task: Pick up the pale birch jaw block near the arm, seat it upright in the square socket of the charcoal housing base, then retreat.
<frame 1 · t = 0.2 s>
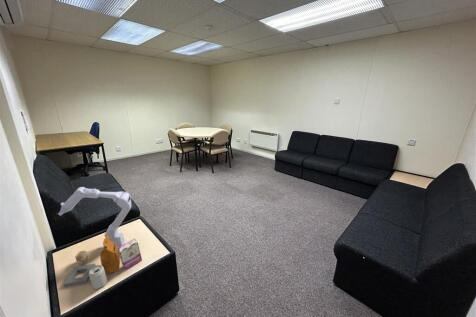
hand: (58, 215, 133), 31 cm above the table, tool tilted 45°, fingers open, 7 cm apart
can: (100, 283, 122), on the table
jaw block: (83, 261, 136), on the table
coffee package: (113, 266, 133), on the table
candy bar box: (132, 263, 135), on the table
housing: (81, 276, 126), on the table
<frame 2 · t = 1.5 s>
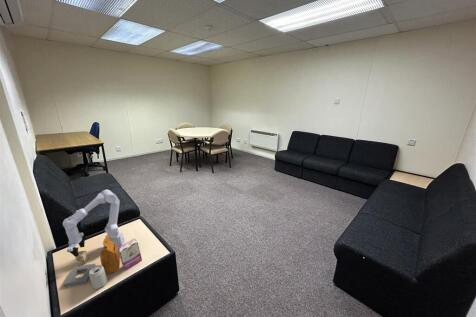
hand: (79, 251, 133), 9 cm above the table, tool pointing down, fingers open, 7 cm apart
nothing on the table moved.
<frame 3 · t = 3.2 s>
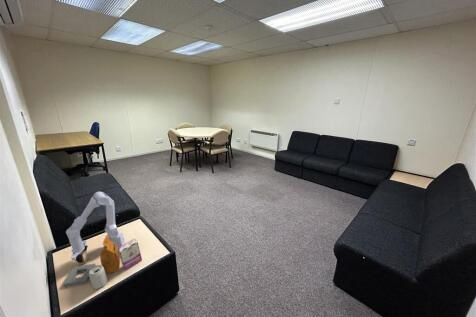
hand: (82, 259, 136), 2 cm above the table, tool pointing down, fingers closed on jaw block, 4 cm apart
jaw block: (83, 261, 136), on the table, touching gripper
everything else where it was.
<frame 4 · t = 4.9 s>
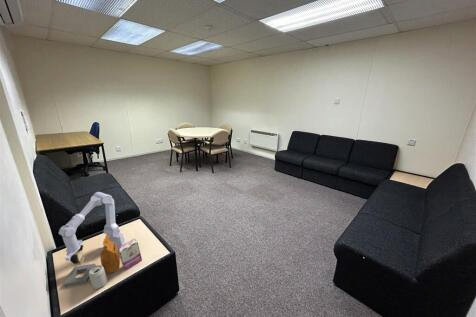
hand: (77, 259, 127), 9 cm above the table, tool pointing down, fingers closed on jaw block, 4 cm apart
jaw block: (78, 262, 128), point 7 cm above the table, touching gripper
everything else where it was.
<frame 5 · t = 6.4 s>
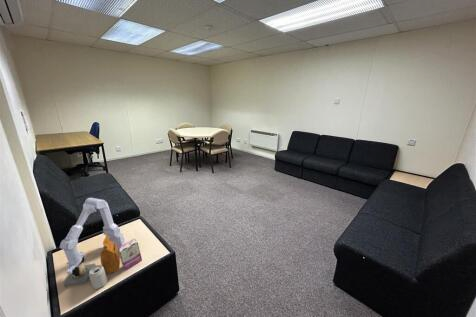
hand: (79, 272, 125), 3 cm above the table, tool pointing down, fingers closed on jaw block, 4 cm apart
jaw block: (80, 274, 126), point 1 cm above the table, touching gripper
everything else where it was.
when the fingers open (3 cm above the table, at t = 7.1 s): jaw block drops 2 cm, resting in housing.
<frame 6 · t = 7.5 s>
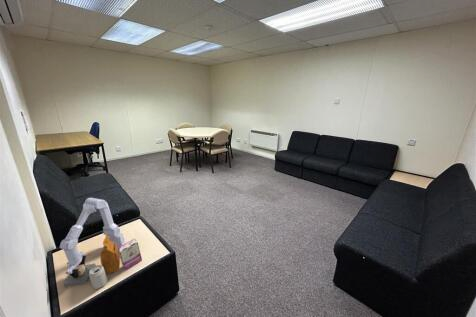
hand: (79, 272, 125), 3 cm above the table, tool pointing down, fingers open, 7 cm apart
jaw block: (81, 276, 126), resting in housing
everything else where it was.
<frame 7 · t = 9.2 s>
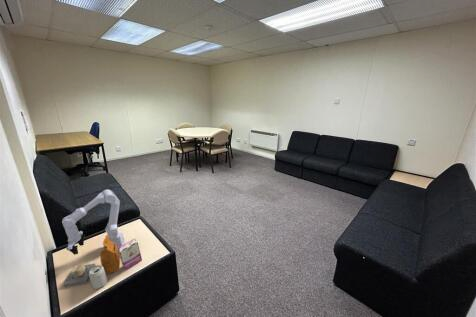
hand: (79, 249, 134), 9 cm above the table, tool pointing down, fingers open, 7 cm apart
nothing on the table moved.
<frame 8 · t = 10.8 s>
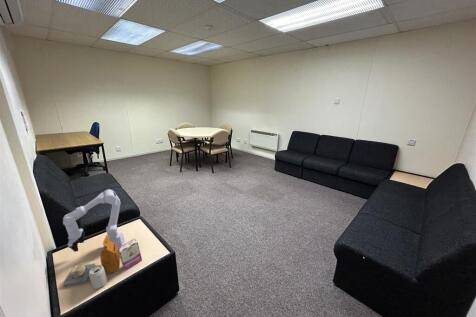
hand: (79, 246, 136), 9 cm above the table, tool pointing down, fingers open, 7 cm apart
nothing on the table moved.
at the end: jaw block 0.1 cm off-centre on the housing, point 0.0 cm above the housing's base; jaw block tilted 0°; the gripper is holding nothing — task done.
